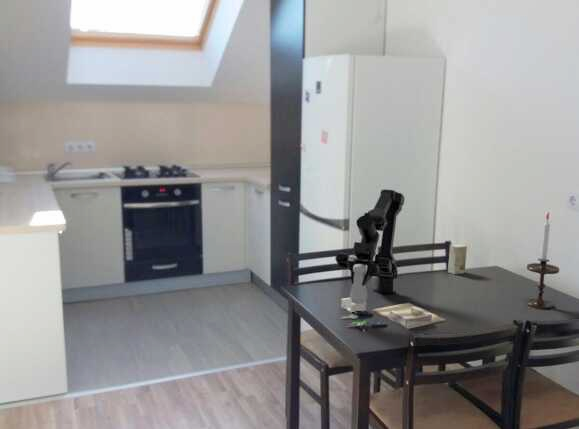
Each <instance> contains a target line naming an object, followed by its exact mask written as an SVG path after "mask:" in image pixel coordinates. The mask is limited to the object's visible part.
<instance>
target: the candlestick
mask: <svg viewBox="0 0 579 429" xmlns="http://www.w3.org/2000/svg"><path fill="white" fill-rule="evenodd" d="M545 217H546V218H545V219H546V221H545V222H544V223H543V234H542V242H541V245H542V246H541V256H540V258H538V259H537V261H539V262H540V263H538V262H537V263H528V264H527V265H526V270H528V271H529V272H532V273H536V274H539V275H540V276H539V283H537V288H538V290H537V291H536V292H537V293H538V297H537V298H530V299H529V298H528V299H527V300H526V305H527V306H528V307H530V306H531V308H533V307H534V308H533V309H537V308H539V309H540V310H549V309H548V308H551V309H553V308H552V307H554V304H553V302H551V301H550V300H546V299H544V298H543V294H545V291H544V289H545V288H546V284H545V282H544V281H545V275H557V274H559V273H560V268H559V267H558V266H557V265H554V264H553V265H552V264H548V263H549V262H550V260H549V259H547V258H548V248H549V239H550V238H549V237H550V227H551V226H550V225H551V224H550V223H549V218H550V213H549V211H547V215H546V216H545ZM539 309H538V310H539Z"/></svg>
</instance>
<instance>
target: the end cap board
mask: <svg viewBox="0 0 579 429" xmlns="http://www.w3.org/2000/svg"><path fill="white" fill-rule="evenodd" d="M372 312H374V313H377V315H381V316H382V317H384V318H385V319H388V320H389V321H392V322H393V323H395V324H398V325H399V326H401V327H403V328H405V329H414V328H418V327H423V326H427V325H433V324H437V323H442V322H446V319H445V318H443V317H441V316H438V315H437V314H435V313H432V312H430V311H428V310H426V309H423V308H421V307H419V306H417V305H415V304H413V303H410V302H405V303H400V304H395V305H389V306H384V307H379V308H374V309H373V310H372Z"/></svg>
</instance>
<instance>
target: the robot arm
mask: <svg viewBox="0 0 579 429" xmlns="http://www.w3.org/2000/svg"><path fill="white" fill-rule="evenodd" d="M379 194H380V195H379V197H378V199H377V201H376V204H375V205H374V208H373V209H371V210H368V212H365V213H364V214H363V215H361V216H360V217H358V218H357V220H356V226H357V229H358V233H359V235H360V236H361V240H360V242H358V241H357V242H356V241H355V242H354V244H353V250H352V252H353V253H354V254H353V255H354V257H353V256H350V255H349V253H345V252H338V253H337V254H336V256H335V261H336V264H337V266H338V267H339V268H346V269H348V270H349V271H350V279H351V285H352V284H353V280H354V279H353V278H354V274H355V272H354V271H353V266H354V265H356V264H362V265H365V266H366V272H365V273H364V279H363V284H362V285H363V286H364V285H365V284H368V282H369V281H370V280H371V279H372V278H375V277H376V288H373V290H372V291H374V292H376V293H378V294H380V295H390V294H391V295H392V294H396V293H397V291H396V290H394V280H395V279H398V275H399V274H398V271H399V270H398V267H397V264H396V259H395V257H394V254H393V248H394V239H395V232H396V224H397V216H399V214H400V213H401V212H402V209H403V206H404V204H405V196H404V194H402V193H401V192H397V191H396V190H394V189H385V188H384V189H381V190H380V193H379ZM378 231H379V232H382V235H381V244H380V250H379V252H378V253H377V252H376V250H377V247H378V243H379V238H380V234H379V232H378Z"/></svg>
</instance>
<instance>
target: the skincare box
mask: <svg viewBox="0 0 579 429" xmlns="http://www.w3.org/2000/svg"><path fill="white" fill-rule="evenodd" d="M467 248H468V246H467V245H464V244H460V243H459V244H451V245H449V251H448V252H449V253H448V254H449V255H448V256H449V257H448V267H447V272H448V273H450V274H452V275H459V274H465V273H466V272H465V271H466V264H467V263H466V260H467V250H468V249H467Z"/></svg>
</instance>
